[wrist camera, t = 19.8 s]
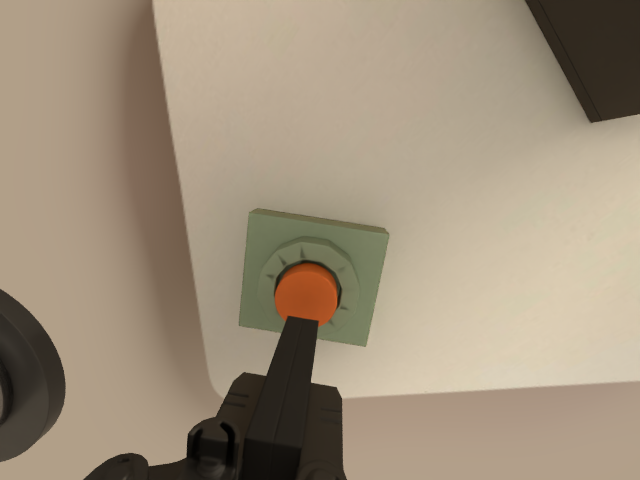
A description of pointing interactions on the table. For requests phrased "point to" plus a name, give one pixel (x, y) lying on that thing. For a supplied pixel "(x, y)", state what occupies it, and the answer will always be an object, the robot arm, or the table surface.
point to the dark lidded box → (596, 51)
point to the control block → (318, 248)
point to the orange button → (307, 293)
